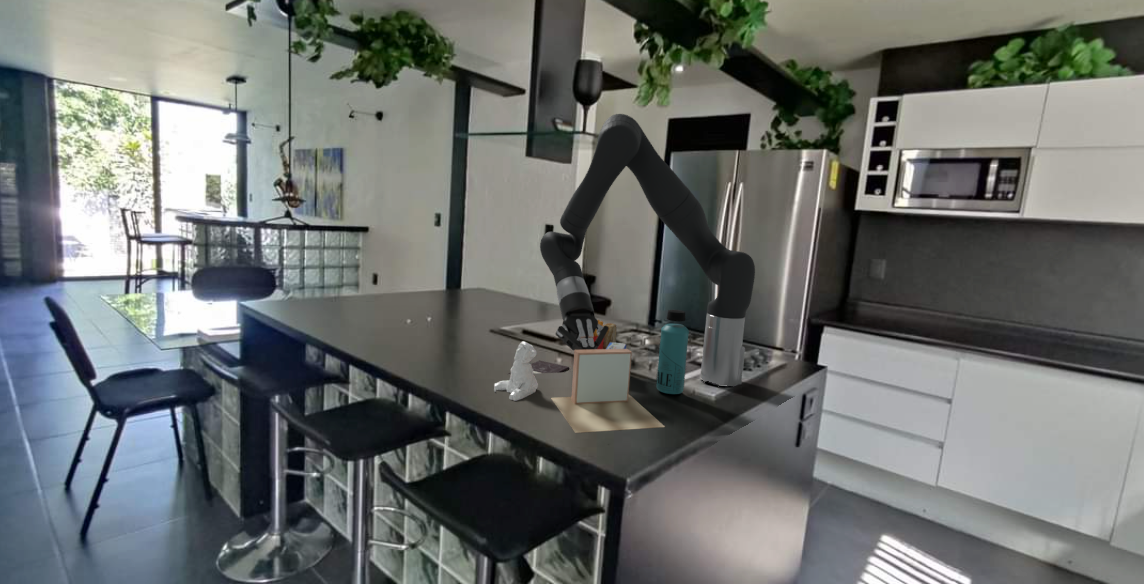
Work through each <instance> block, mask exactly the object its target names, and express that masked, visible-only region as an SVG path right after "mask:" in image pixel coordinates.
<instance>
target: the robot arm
mask: <svg viewBox="0 0 1144 584" xmlns="http://www.w3.org/2000/svg"><path fill="white" fill-rule="evenodd" d="M626 167H627V168H628V169H629V170H630V171H631V173H632V174H633V175H634V176H635V178H636V180H637V181H638V184H639V186H640V188H641V190H642V192H643V194H644V195H645V198H646V200H647V201H648V204H649V205H650V207H651V208H652V210H653V211H654V213H655V214H656V215H657V216H658V218H659V219H660V221H662V222H663V224H664V225H665V226H666V227H667V228H668V229H669V231H671V233H673V235H674V236H675V237H676V238H677V240H678V241H680V242H681V244H682V245H683V246H684V247H685V248H686V249H687V250H688V251H689V252H690V254H691V255H692V256H693V258H694V260H696V263H697V264H698V265H699V267H700V268H701V270H702V271H703V273H704V274H705V276H706V277H707V278H708V279H709V280H710V282H712V283H713V284H715V285H717V286H718V287H719V288H718V294H717V296H716V298H715V299H713V300H711V301H709V302H708V303H707V308H706V309H707V310H706V318H705V329H704V336H703V337H704V339H703V348H702V358H701V365H700V366H701V367H700V376H701V378H702V379H703V380H704V381H709V382H712V383H716V384H720V385H727V386H733V387H736V386H738V385H742V380H743V372H744V365H745V364H744V363H745V354H746V348H745V346H743V340H744V329H745V323H746V322H745V320H746V314H747V310H748V309H749V307H750V305H751V301H752V295H753V291H754V290H753V289H754V284H755V278H756V277H755V276H756V265H755V262H754V260H753V258H752V256H750V254H748V253H746V252H742V251H738V250H733V249H732V250H731V249H728V248H727V247H726V246H724V245H723V243H722V242H720V240H718V238H717V237H716V236H715V234H714V233H713V232H712V230H711V229H710V227H709V225H708V220H707V216H706V214H705V210H704V208H703V207H702V204H701V203H700V201H699V200H698V199H697V197H695V195H694V194H693V193H692V192H691V190H690V189H689V187H687V185H686V184H685V183H684V182H683V181H682V180H681V178H680V177H679V175H677V174H676V173H675V172H674V170H673V169H672V168H671V167H670V165H668V163H666V162H665V161H664V160H663V158H662V157H661V156H660V155H659V153H658V152H657V150H656V149H655V148H654V145H653V144H652V142H651V140H649V138H648V137H647V135H646V133H645V132H644V130H643V129H642V127H641V125H640V124H639V123H638V122H637V121H636V120H635V119H634V118H633V117H632V116H630V115H627V114H624V113H616V114H613V115H610V116H609V117H608V118H607V119H606V120H605V121H604V123H603V125H602V126H601V129H600V131H599V134H598V136H597V143H596V147H595V150H594V153H593V157H592V160H591V163H590V164H589V167H588V169H587V171H586V173H585V176H584V177H583V179H582V181H581V183H579V185H578V187H577V188H576V190H575V191H574V193H573V194H572V196H571V197H570V200H569V201H568V203H567V205H566V207H565V208H564V211H563V212H562V215H561V218H560V220H559V224H560V226H561V228H562V230H564V231H565V232H566V233H562V232H556V231H548V232H546V233H544V234H543V236H542V237H541V239H540V243H539V250H540V254H541V257H542V259H543V261H544V262H545V264H546V266H547V267H548V269H549V271H550V273H551V274H552V276H553V280H554V283H555V288H556V295H557V296H556V297H557V301H558V304H559V305H558V306H559V309H560V313H561V317H562V320H563V321H562V324H561V325H559V326H558V327H557V329H556V330H555V331H556V332H555V336H556V337H558V339H560V341H562V342H563V343H564V344H565V346H567V347H568V348H569V349H571V350H572V351H574V350H591V349H597V348H598V347H599V345H600V344H601V342H602V340H603V338H604V336H605V335H606V333H607V331H608V329H609V327H608V326H604V327H603V326H601V325H600V324H598V320H599V319H597V318H596V316H595V310H594V306H593V303H592V300H591V294H590V292H589V288H588V285H587V284H586V281H585V278H584V274H583V271H582V268H581V265H580V263H578V261H577V260H578V259H579V258H580V256H581V254H582V251H583V246H584V242H585V238H586V234H587V230H588V229H589V227H590V225H591V223H592V221H593V219H594V218H595V216H596V214H597V212H598V210H599V209H600V207H601V205H602V203H603V200H604V199H605V197H606V195H607V193H608V192H609V190H610V188H611V187H612V186H613V184H614V182H615V181H616V180H617V178H618V177H619V176H620V175H621V173H622V172H623V171H624V170H625V168H626ZM567 233H568V234H567ZM596 329H597V335H598V337H597V339H596V341H595V342H594V340H593V337H594V335H593V333H594V332H595V330H596Z"/></svg>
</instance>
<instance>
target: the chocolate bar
mask: <svg viewBox="0 0 1144 584" xmlns="http://www.w3.org/2000/svg"><path fill="white" fill-rule="evenodd" d="M530 364H531V366H532V369H533V373H534V374H556V373H558V374H559V373H561V374H562V373H563V372H566V371H567V370H569V369H570V366H566V365H564V364H563V365H562V364H558V363H553V362H549V361H545V360H544V361H543V360H537V361H535V362H532V363H530ZM507 375H511V372H508V373H507Z"/></svg>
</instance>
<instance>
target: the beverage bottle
mask: <svg viewBox="0 0 1144 584" xmlns="http://www.w3.org/2000/svg"><path fill="white" fill-rule="evenodd" d="M666 320H667V321H672V322H686V311H684V310H680V309H668V311H667V316H666ZM689 333H690V331H689V329H688V328H687V327H686V325H683V324H680V323H666V324H664V325H663V326H662V327H661V329H660V338H659V339H660V340H659V346H658V347H659V349H658V362H657V369H656V370H657V372H656V377H655V378H656V379H655V383H656V385H655V386H656V390H657V391H659V392H661V393H664V394H667V395H668V394H669V395H680V394H682V393H683V391H684V389H685V384H686V383H685V380H686V369H687V366H686V364H687V355H688V342H689Z"/></svg>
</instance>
